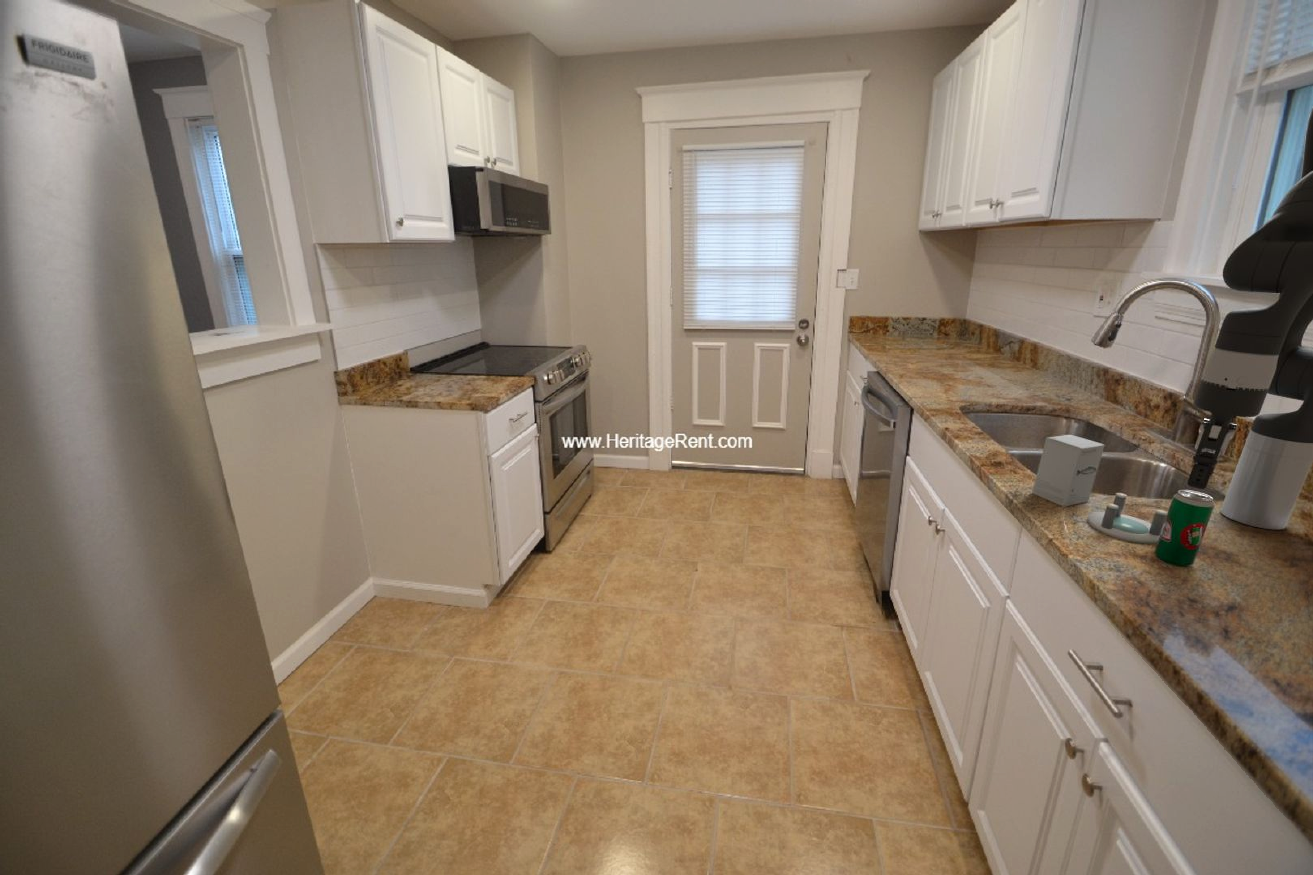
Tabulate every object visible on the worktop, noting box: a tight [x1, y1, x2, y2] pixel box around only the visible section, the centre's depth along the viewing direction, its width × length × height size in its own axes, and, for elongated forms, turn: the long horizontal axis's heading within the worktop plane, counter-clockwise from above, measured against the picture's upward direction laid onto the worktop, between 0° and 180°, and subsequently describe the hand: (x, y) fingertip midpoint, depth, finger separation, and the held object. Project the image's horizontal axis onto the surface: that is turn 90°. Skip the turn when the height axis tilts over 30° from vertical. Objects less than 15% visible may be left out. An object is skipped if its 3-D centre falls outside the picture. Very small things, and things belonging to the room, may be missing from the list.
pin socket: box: [1087, 492, 1168, 544], centre depth 108 cm, size 11×11×5 cm
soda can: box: [1154, 489, 1215, 568], centre depth 96 cm, size 5×5×12 cm
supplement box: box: [1031, 434, 1105, 507], centre depth 120 cm, size 7×7×13 cm
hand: (1199, 480), depth 93 cm, fingers open, 8 cm apart
